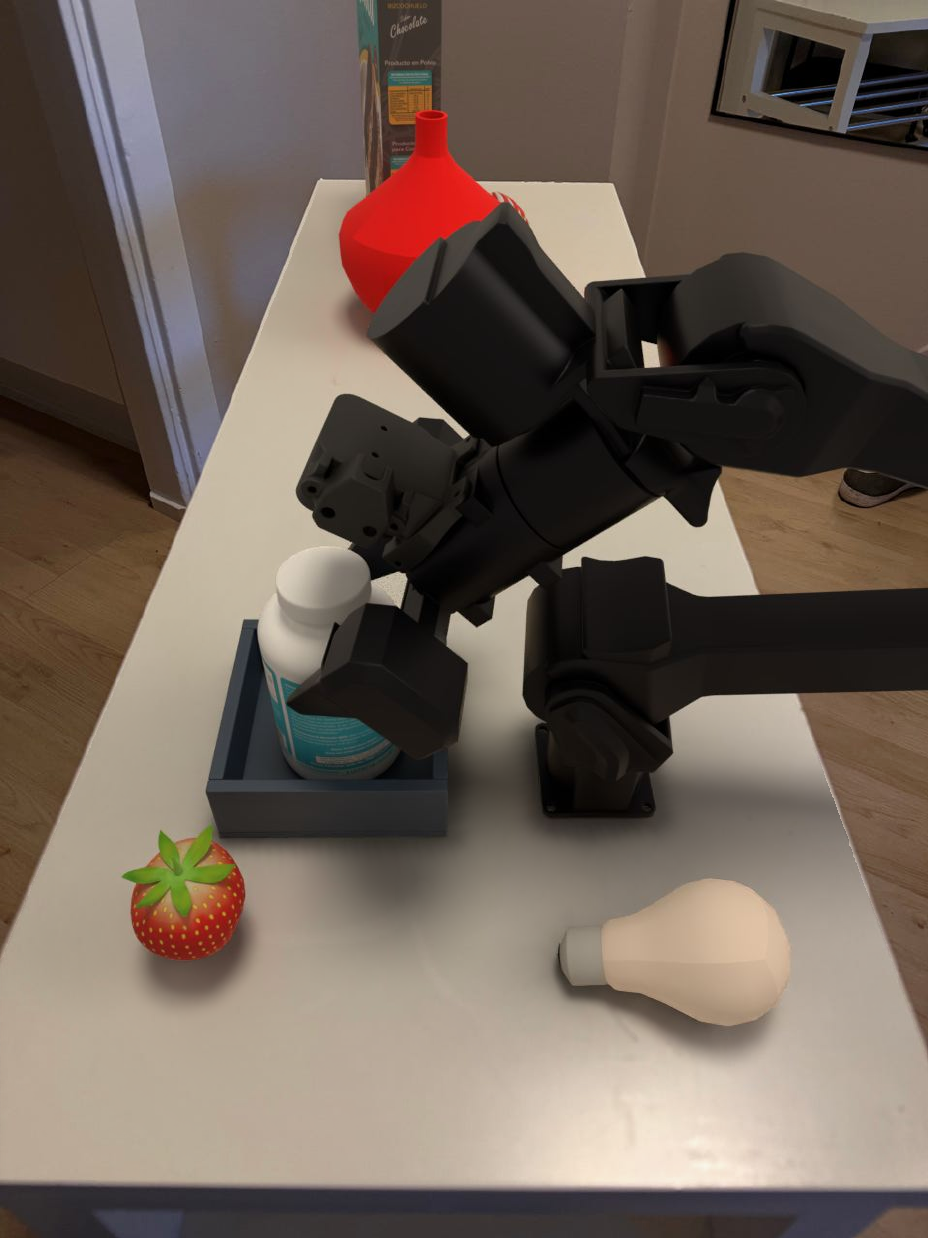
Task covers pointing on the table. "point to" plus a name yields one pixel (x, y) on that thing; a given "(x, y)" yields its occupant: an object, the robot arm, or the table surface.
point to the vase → (409, 213)
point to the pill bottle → (318, 662)
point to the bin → (296, 807)
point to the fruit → (187, 898)
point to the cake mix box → (396, 78)
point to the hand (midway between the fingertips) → (315, 640)
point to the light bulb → (689, 952)
